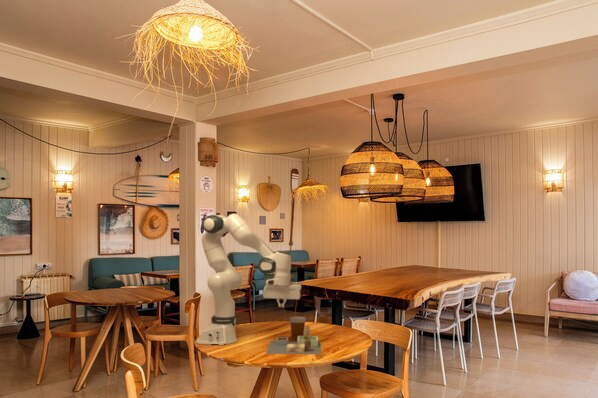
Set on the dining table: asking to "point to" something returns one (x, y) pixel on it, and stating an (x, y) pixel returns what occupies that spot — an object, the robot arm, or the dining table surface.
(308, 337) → the oak dowel
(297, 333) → the disposable coffee cup
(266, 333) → the dining table surface
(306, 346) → the bench dog
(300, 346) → the beech plate
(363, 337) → the dining table surface
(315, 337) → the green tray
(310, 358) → the dining table surface
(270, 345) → the bench mat
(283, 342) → the dowel socket
